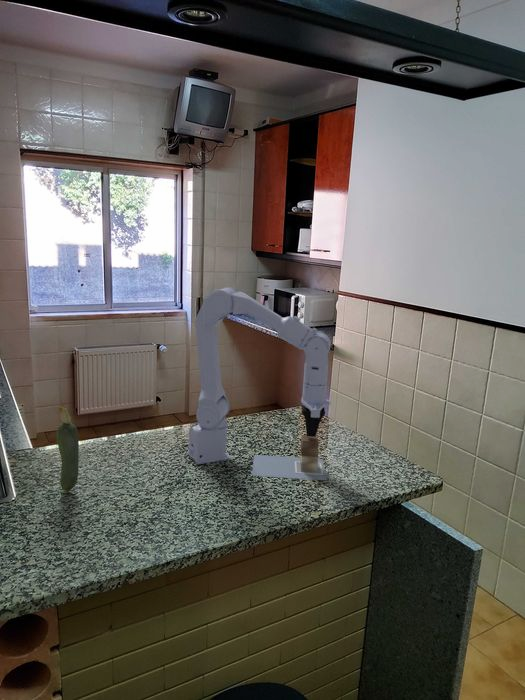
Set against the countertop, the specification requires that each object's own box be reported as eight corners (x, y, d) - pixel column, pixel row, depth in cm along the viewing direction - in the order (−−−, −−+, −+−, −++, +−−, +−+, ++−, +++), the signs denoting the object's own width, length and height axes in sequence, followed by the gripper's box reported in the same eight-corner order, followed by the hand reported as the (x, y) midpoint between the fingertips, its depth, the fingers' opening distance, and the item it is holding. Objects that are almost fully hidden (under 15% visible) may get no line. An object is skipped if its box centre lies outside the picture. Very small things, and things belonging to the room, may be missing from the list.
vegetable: (81, 488, 112) (79, 402, 108) (78, 497, 108) (75, 409, 104) (60, 488, 112) (57, 402, 107) (56, 498, 107) (52, 409, 103)
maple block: (300, 471, 125) (302, 456, 124) (300, 464, 129) (301, 449, 128) (317, 472, 125) (318, 457, 124) (315, 465, 129) (317, 450, 128)
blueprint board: (251, 477, 121) (251, 475, 121) (254, 456, 133) (254, 454, 133) (326, 482, 121) (326, 479, 121) (322, 461, 133) (322, 458, 133)
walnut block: (301, 456, 124) (302, 440, 123) (300, 449, 128) (301, 434, 127) (317, 457, 124) (318, 441, 123) (316, 450, 128) (317, 435, 127)
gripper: (334, 392, 115) (330, 448, 118) (328, 375, 129) (324, 425, 132) (303, 390, 115) (300, 446, 118) (301, 374, 129) (297, 424, 132)
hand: (311, 435), depth 125 cm, fingers closed
